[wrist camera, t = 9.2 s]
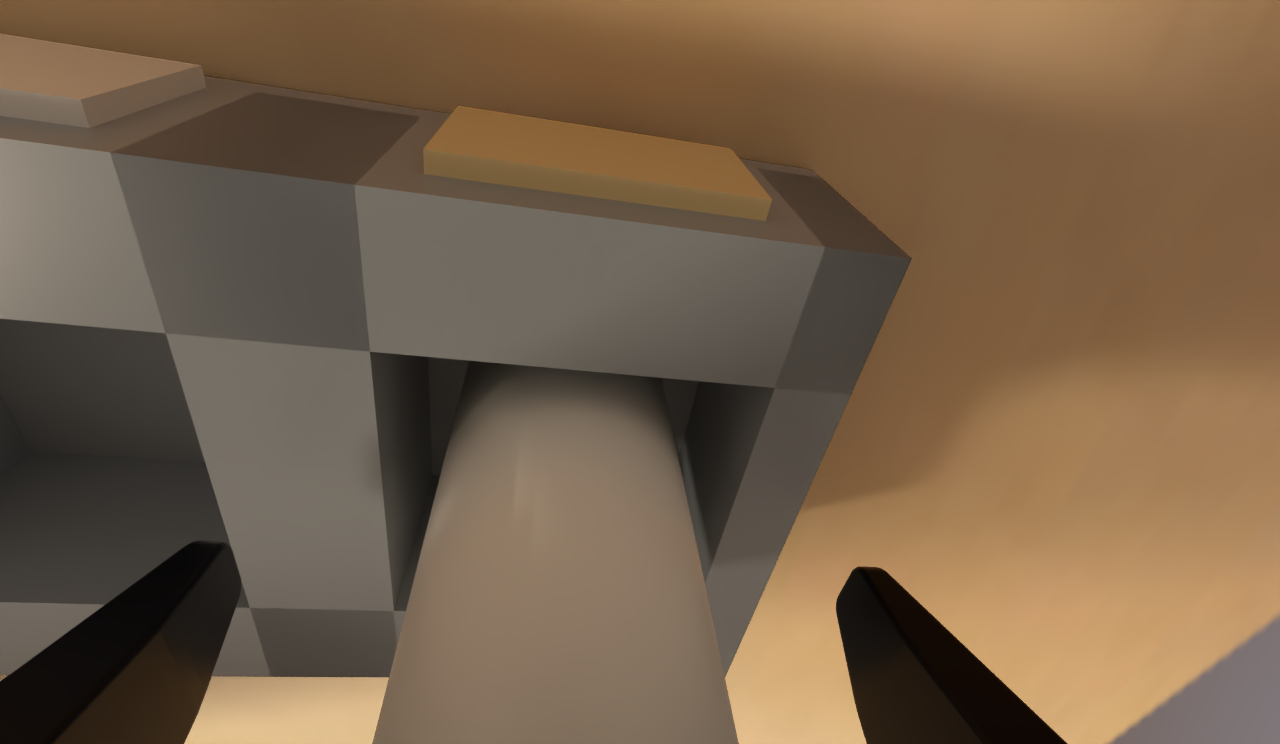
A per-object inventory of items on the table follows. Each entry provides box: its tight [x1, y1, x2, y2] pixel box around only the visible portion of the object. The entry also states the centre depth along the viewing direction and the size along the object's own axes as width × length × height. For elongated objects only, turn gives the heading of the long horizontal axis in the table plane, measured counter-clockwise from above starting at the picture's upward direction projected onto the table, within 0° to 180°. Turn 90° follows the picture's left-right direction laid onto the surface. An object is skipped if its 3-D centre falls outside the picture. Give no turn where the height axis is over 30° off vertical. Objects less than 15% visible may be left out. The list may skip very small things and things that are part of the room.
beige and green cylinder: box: [372, 361, 739, 744], centre depth 9 cm, size 4×4×9 cm
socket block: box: [0, 33, 911, 677], centre depth 11 cm, size 16×10×4 cm, turn 80°
